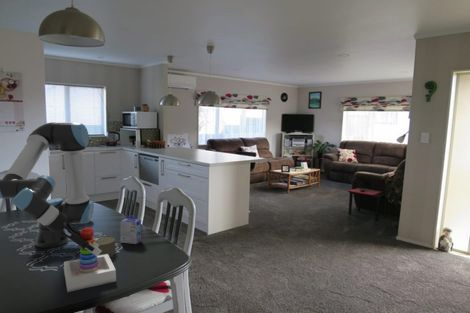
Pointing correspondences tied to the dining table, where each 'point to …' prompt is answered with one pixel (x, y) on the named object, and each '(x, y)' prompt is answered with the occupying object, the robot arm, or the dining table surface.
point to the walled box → (89, 274)
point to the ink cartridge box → (130, 230)
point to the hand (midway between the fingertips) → (97, 250)
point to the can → (106, 245)
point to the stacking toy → (88, 254)
